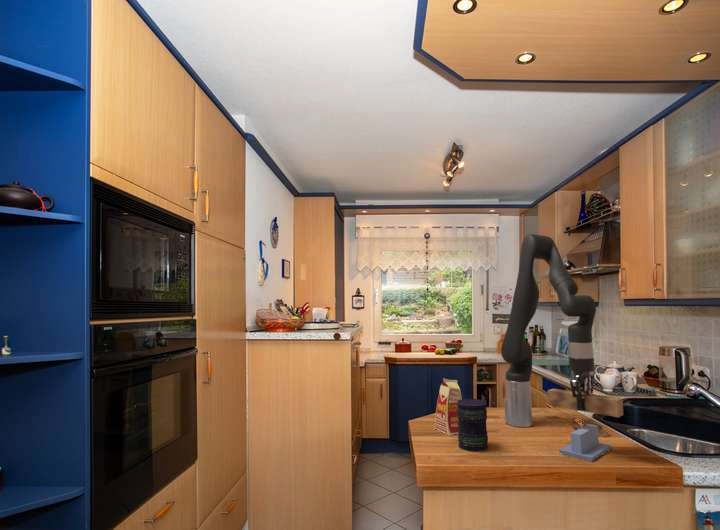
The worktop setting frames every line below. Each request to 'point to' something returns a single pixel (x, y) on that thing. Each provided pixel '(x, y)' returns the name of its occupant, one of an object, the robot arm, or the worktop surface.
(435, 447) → the worktop surface
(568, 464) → the worktop surface
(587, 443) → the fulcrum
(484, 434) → the storage jar
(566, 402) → the beam
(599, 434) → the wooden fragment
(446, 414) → the milk carton
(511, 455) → the worktop surface
